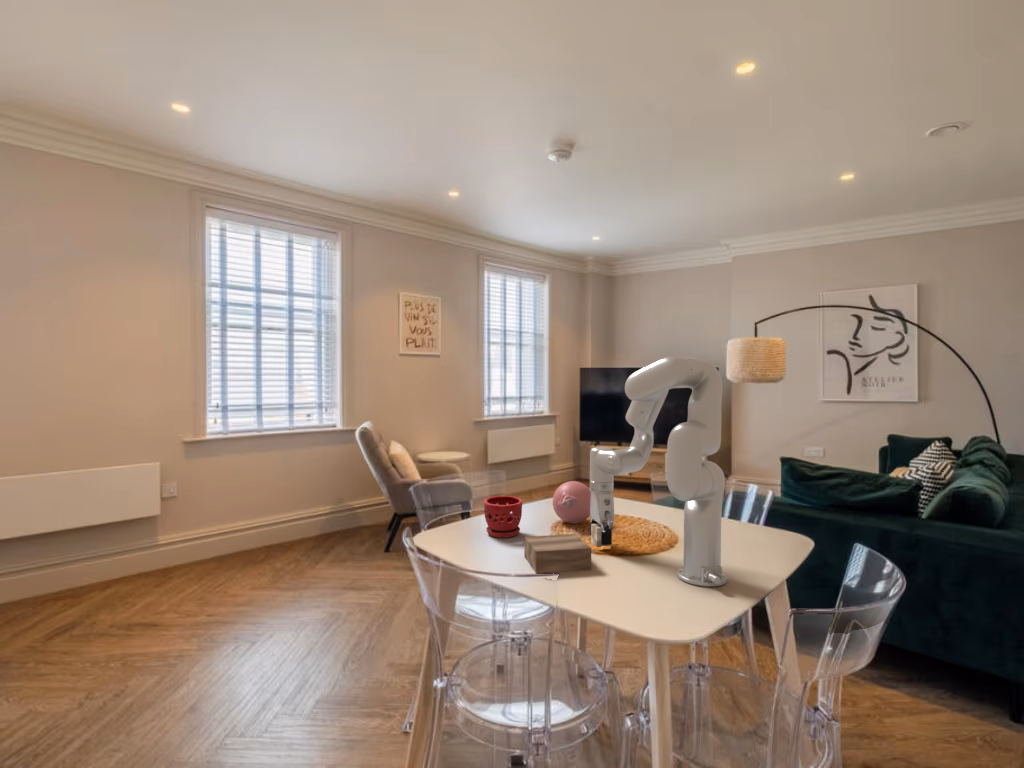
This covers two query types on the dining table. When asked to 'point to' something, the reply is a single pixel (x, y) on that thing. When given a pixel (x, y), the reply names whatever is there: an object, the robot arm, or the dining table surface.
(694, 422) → the robot arm
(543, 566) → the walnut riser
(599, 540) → the birch block
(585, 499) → the balloon
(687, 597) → the dining table surface
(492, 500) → the plant pot
